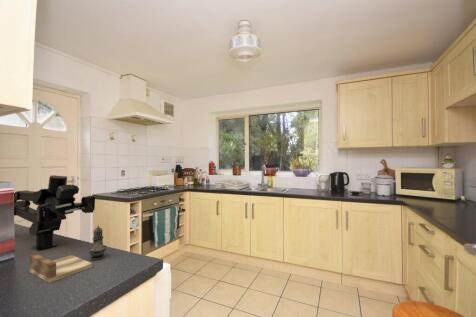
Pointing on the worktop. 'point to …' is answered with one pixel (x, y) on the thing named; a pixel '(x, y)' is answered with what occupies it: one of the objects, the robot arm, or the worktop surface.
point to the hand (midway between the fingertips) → (79, 214)
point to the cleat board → (56, 267)
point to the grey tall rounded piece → (97, 246)
